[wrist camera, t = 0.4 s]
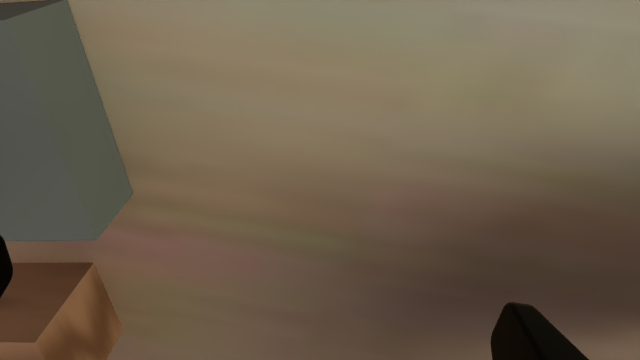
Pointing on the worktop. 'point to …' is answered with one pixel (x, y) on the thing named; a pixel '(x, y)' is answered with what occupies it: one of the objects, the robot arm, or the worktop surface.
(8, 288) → the terracotta cube
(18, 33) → the slate block
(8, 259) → the robot arm
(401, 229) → the worktop surface
